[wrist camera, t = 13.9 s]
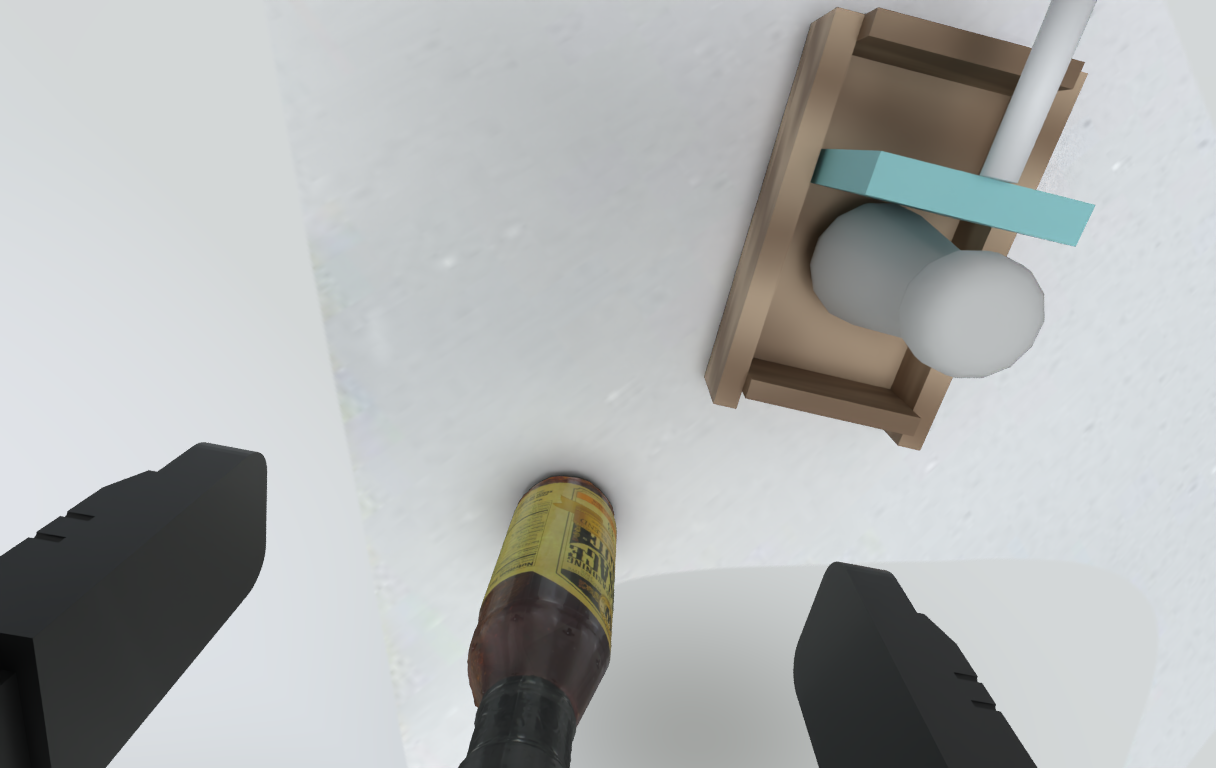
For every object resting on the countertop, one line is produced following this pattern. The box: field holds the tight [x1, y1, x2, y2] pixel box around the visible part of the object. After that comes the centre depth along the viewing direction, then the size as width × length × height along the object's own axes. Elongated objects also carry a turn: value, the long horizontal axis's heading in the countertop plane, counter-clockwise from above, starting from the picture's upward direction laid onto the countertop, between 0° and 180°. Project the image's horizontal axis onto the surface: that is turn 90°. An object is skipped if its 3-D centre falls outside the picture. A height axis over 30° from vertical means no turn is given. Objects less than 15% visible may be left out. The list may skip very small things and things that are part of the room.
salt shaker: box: [810, 203, 1044, 378], centre depth 27 cm, size 6×6×13 cm
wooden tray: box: [704, 7, 1088, 450], centre depth 31 cm, size 18×11×6 cm, turn 167°
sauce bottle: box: [458, 476, 617, 768], centre depth 31 cm, size 7×6×20 cm
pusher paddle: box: [810, 0, 1097, 247], centre depth 26 cm, size 8×8×10 cm
